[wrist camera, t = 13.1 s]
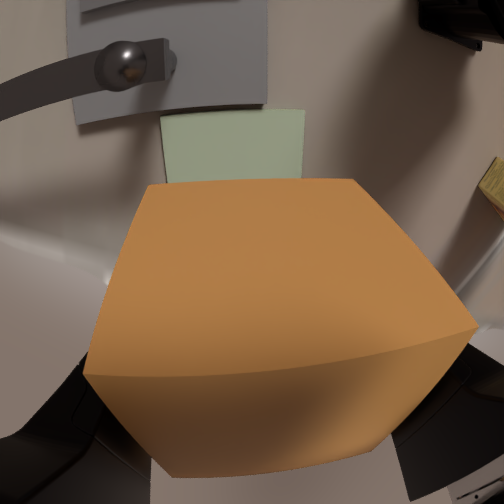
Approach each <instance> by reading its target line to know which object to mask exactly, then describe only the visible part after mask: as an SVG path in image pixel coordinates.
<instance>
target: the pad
mask: <svg viewBox="0 0 504 504" xmlns="http://www.w3.org/2000/svg"><path fill="white" fill-rule="evenodd" d="M160 122H161V132H162V141H163V150H164V158H165V167H166V174H167V182H168V183H179V182H194V181H212V180H234V179H270V178H301V174H302V158H303V141H304V122H305V110H302V109H241V110H219V111H203V112H191V113H180V114H171V115H162V116H160Z"/></svg>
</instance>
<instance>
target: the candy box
mask: <svg viewBox="0 0 504 504" xmlns="http://www.w3.org/2000/svg"><path fill="white" fill-rule="evenodd" d="M478 187H479V188H480V189H481V190H482V192H483V193H484V194H485V196H486V197H487V199H488V200H489V201H490V203H491V204H492V206H493V207H494V208H495V210H496V211H497V212H498V214H499V215H500V217H501V218H502V220H503V221H504V160H502V159H501V158H499V157H496V158H495V160H494V161H493V163H492V165H491V167H490V168H489V170H488V171H487V173H486V174H485V176H484V177H483V178H482V180H481V182H480V183H479V184H478Z"/></svg>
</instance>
